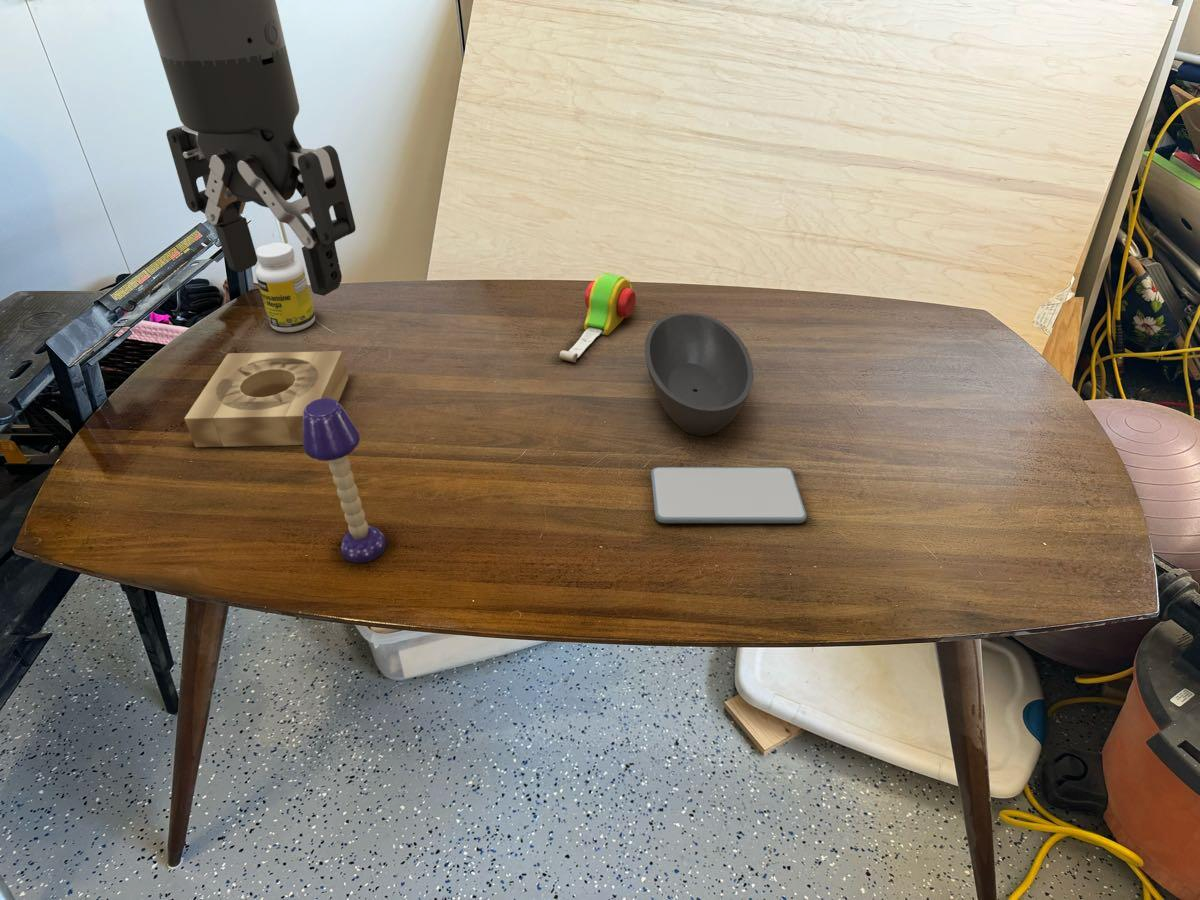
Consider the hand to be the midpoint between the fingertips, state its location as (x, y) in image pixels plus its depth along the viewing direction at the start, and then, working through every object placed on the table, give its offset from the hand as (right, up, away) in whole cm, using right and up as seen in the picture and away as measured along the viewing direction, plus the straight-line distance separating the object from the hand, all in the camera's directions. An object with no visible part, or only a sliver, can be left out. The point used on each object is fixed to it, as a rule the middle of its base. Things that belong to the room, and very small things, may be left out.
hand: (285, 279), depth 60 cm
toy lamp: (+1, -23, +16) cm, 28 cm away
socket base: (-15, -8, +35) cm, 39 cm away
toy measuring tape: (+24, +3, +50) cm, 55 cm away
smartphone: (+37, -18, +21) cm, 46 cm away
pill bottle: (-19, +5, +52) cm, 56 cm away
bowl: (+35, -7, +36) cm, 51 cm away
